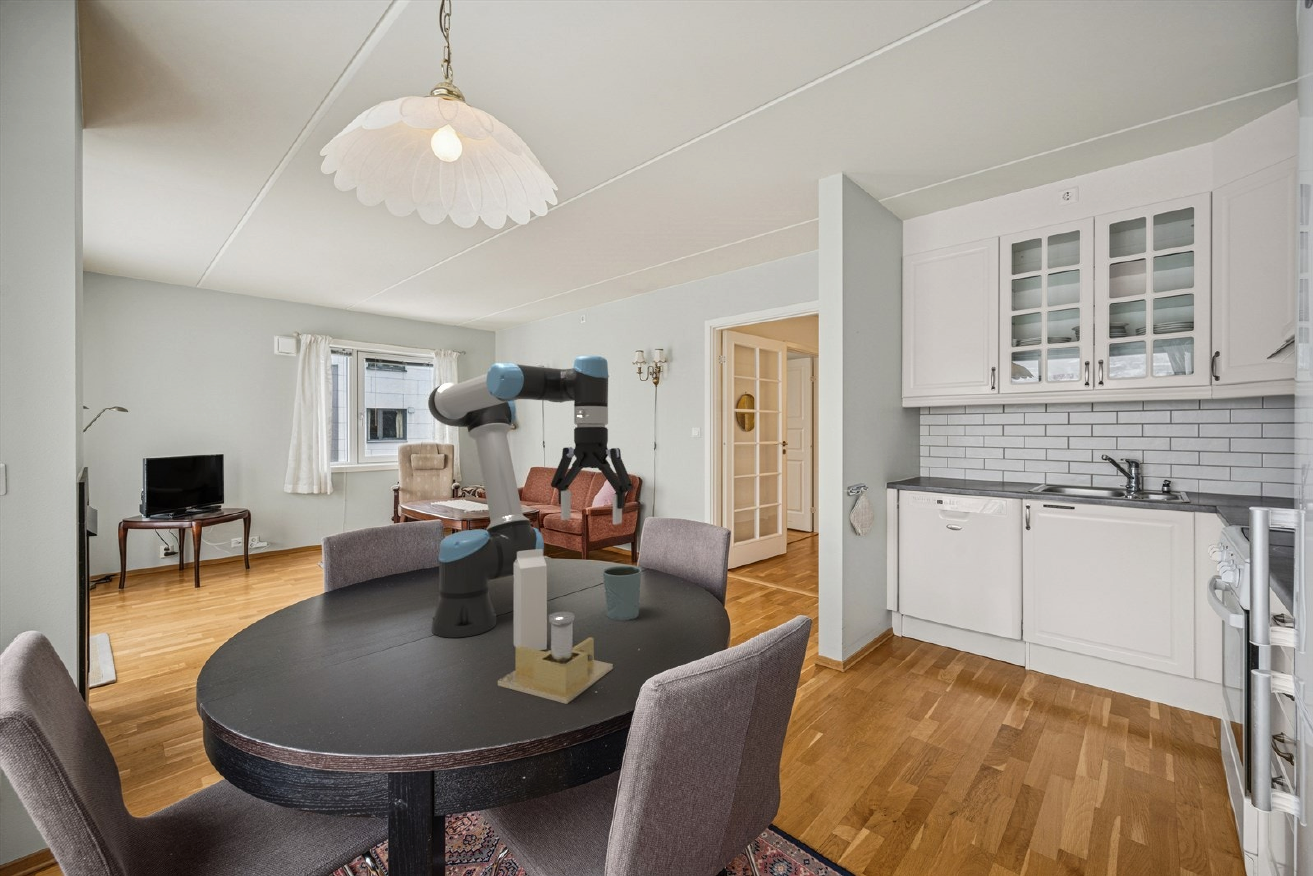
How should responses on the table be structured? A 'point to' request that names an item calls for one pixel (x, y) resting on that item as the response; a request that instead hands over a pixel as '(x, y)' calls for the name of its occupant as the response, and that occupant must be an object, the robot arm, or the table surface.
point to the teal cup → (622, 592)
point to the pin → (561, 636)
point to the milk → (530, 600)
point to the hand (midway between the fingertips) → (590, 521)
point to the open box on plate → (555, 673)
